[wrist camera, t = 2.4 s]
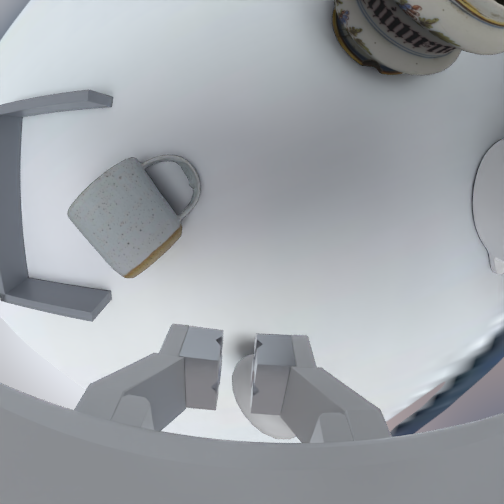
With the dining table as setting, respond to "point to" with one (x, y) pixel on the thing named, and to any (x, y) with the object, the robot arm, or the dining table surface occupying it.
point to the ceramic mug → (131, 215)
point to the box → (10, 220)
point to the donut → (242, 393)
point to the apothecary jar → (417, 32)
